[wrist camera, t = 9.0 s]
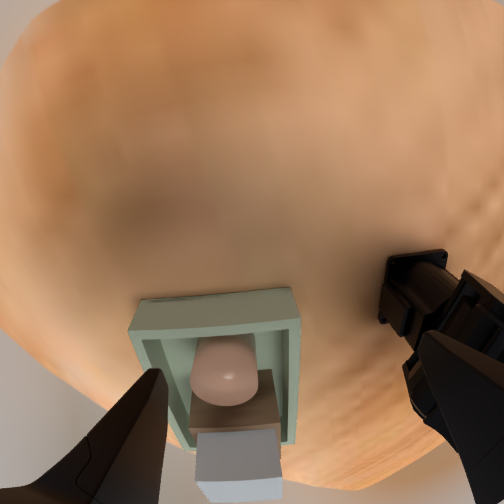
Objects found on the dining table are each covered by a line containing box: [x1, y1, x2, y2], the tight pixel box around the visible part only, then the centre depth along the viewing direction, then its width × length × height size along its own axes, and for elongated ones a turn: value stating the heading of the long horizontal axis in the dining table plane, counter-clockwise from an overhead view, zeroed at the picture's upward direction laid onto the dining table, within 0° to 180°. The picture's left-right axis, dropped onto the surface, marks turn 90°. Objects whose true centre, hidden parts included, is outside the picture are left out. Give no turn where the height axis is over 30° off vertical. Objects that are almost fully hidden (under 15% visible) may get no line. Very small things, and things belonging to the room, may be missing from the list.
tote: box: [128, 287, 301, 451], centre depth 23 cm, size 12×17×4 cm
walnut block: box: [188, 369, 281, 459], centre depth 23 cm, size 7×7×6 cm
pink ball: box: [190, 333, 258, 406], centre depth 20 cm, size 5×5×5 cm
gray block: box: [195, 428, 282, 503], centre depth 18 cm, size 6×6×4 cm
